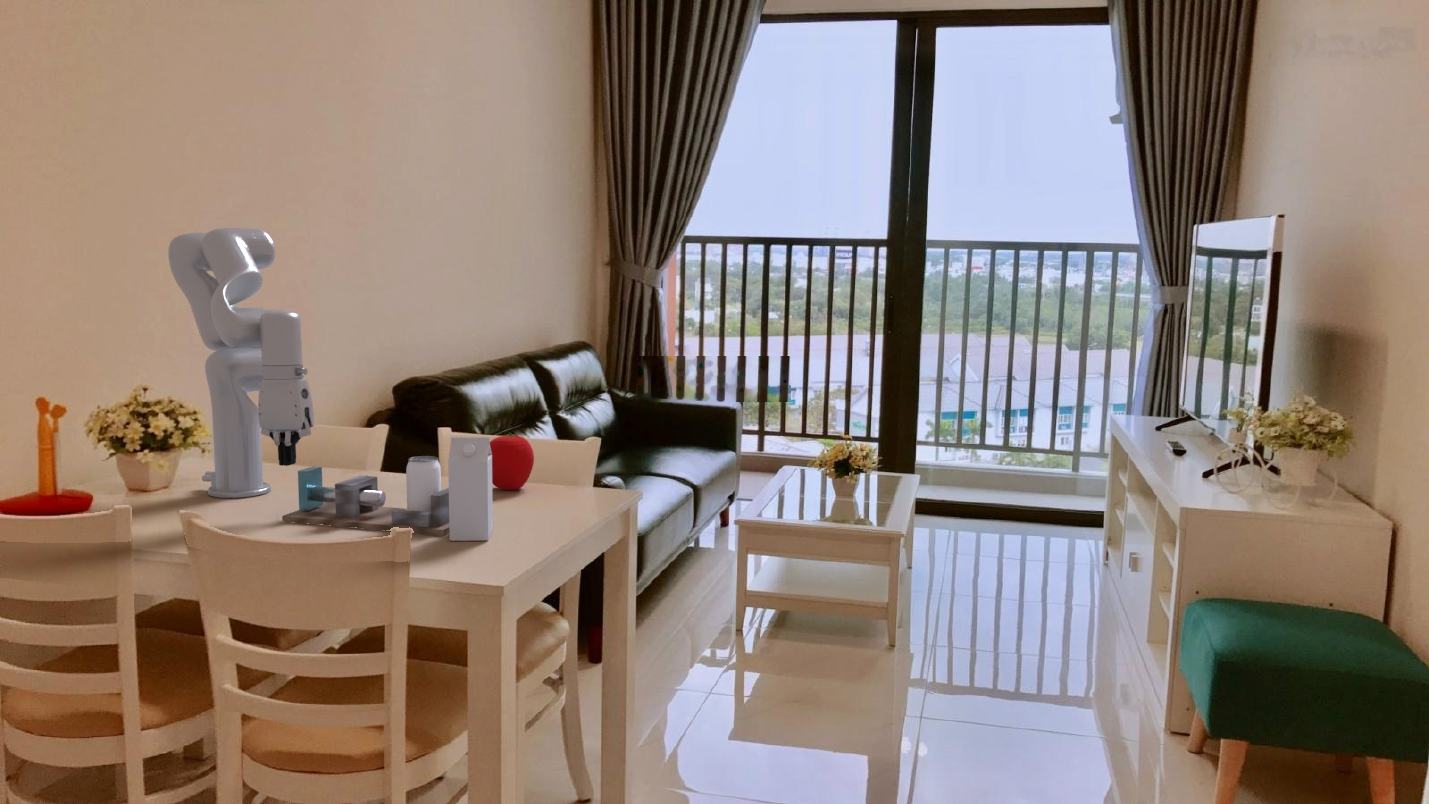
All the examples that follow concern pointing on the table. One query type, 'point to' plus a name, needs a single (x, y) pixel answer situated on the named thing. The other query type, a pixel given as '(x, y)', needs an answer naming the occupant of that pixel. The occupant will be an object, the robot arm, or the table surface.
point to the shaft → (328, 491)
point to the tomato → (511, 461)
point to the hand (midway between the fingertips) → (287, 464)
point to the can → (422, 482)
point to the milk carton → (470, 489)
